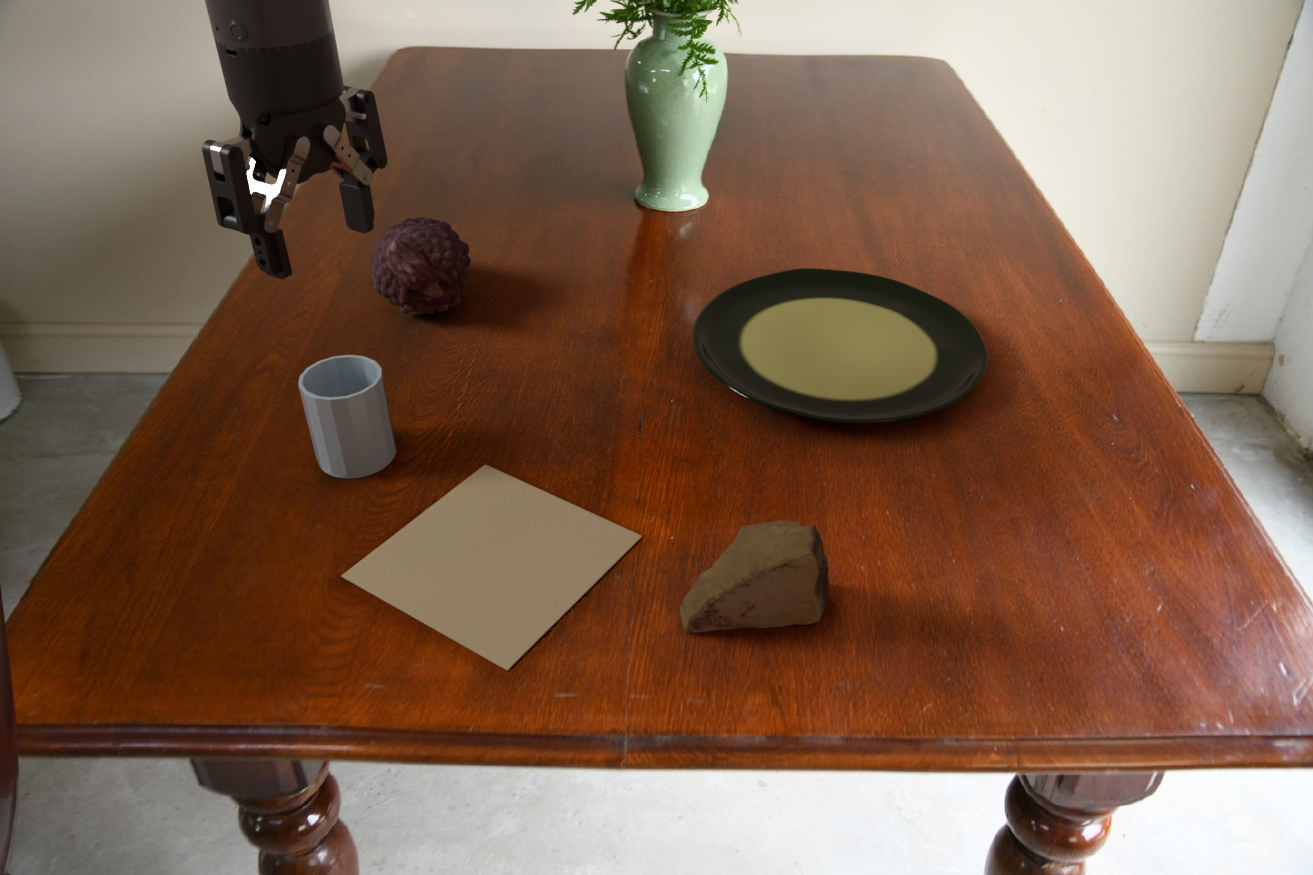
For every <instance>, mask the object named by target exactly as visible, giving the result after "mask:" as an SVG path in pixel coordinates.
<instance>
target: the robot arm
mask: <svg viewBox="0 0 1313 875" xmlns="http://www.w3.org/2000/svg"><path fill="white" fill-rule="evenodd" d="M204 3H205V7H206V10H207V16H208V19H209V24H210V27H211V32H212V36H213V39H214V43H215V48H216V52H217V56H218V60H219V64H220V68H221V73H222V76H223V80H224V84H225V88H226V92H227V96H228V100H229V101H230V103H231V105H232V106H233V107H234V109H235V111H236V112H237V114H238V116H239V122H240V124H239V131H238V136H236V137H233V138H230V139H227V140H224V141H217V140H213V139H207V140H205V141H204V142H203V143H202V146H201V152H202V156H203V161H204V167H205V171H206V175H207V180H208V185H209V190H210V194H211V198H212V203H213V208H214V212H215V217H216V222H217V224H218V226H220V227H222V228H223V229H224V228H225V229H227V230H228V229H229V230H233V231H236V232H239V233H241V234H244V235H247V236H249V239H250V243H251V247H252V251H253V254H254V258H255V262H256V266H257V267H258V270H260V271H262V272H264V273H265V274H266V275H267V276H270V277H272V278H276V279H278V280H281V281H282V280H285V279H287V278H288V277H290V276H292V275H293V270H292V266H291V260H290V256H289V252H288V248H287V244H286V240H285V235H284V232H283V229H282V228H279V225H280V222H281V219H282V216H283V212H284V208H285V205H286V204H287V203H290V202H291V201H292V199H293V197H294V194H295V192H296V188H297V185H300V184H303V183H305V182H307V181H308V180H309V179H311V177H313V176H314V175H315V174H316V175H317V174H324V173H326V172H328V171H332V172H333V173H334V174H335V175H337V177H338V178H339V179H341V180H342V181H341V182H339V183H338V189H339V193H340V198H341V203H342V204H341V205H342V208H343V214H344V219H345V225H346V226H347V228H348V229H349V230H351V231H353V232H357V233H361V234H368V233H369V232H372V231H373V230H374V228H375V224H374V221H375V216H376V215H375V214H376V212H375V208H374V202H373V195H372V189H371V183H372V182H373V179H374V173H375V172H376V171H377V170H378V169H379V170H384V169H385V168H386V167H387V165H388V162H389V161H388V154H387V150H386V145H385V140H384V135H383V129H382V124H381V120H380V116H379V111H378V106H377V101H376V97H375V93H374V92H373V91H371V90H367V89H364V88H363V89H362V88H358V87H353V86H348V85H344V84H345V83H344V79H343V73H342V68H341V67H342V66H341V60H340V55H339V51H338V44H337V40H336V33H335V28H334V24H333V23H334V22H333V17H332V12H331V6H330V0H204ZM344 126H345V130H346V135H347V139H348V141H347V140H346V139H345V138H344V137H343V136H342V133H343V130H344ZM367 145H368V147H367ZM249 157H250V161H249V162H248V160H249ZM267 174H268V175H269V176H270V177H272V178H273V179H276V180H277V181H276V182H275V183H274V184H269V183H266V177H267ZM265 199H266V201H265ZM264 201H265V202H264ZM264 203H265V205H264ZM263 206H264V208H263ZM262 208H263V211H262ZM5 619H6V618H5V611H4V602H3V595H2V587H1V585H0V875H11V874H10V873H8V872H9V869H10V865H11V862H12V861H11V860H12V857H13V852H14V845H15V839H16V838H15V837H16V829H17V821H18V811H19V802H20V801H19V800H20V768H19V767H20V765H19V762H20V761H19V740H18V723H17V722H18V720H17V713H16V704H15V703H16V702H15V693H14V685H13V676H12V666H11V665H12V664H11V658H10V650H9V643H8V635H7V627H6V621H5Z"/></svg>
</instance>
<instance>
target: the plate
mask: <svg viewBox="0 0 1313 875" xmlns="http://www.w3.org/2000/svg"><path fill="white" fill-rule="evenodd" d="M692 343H693V347H694V350H695V352H696V355H697V357H698V359H699V361H700V362H701V364H702V365H703V366H704V368H705V369H706V370H707V371H708V372H709V373H710V374H711V375H712V377H714V378H715V379H716V380H717V381H719V382H720V383H721V384H722V385H723V386H725V387H726V388H727V389H729V390H731V391H733V392H734V393H735V394H738V395H739V396H741V397H743V398H744V399H747V400H749V401H751V402H753V403H756V404H758V405H761V406H764V407H767V408H769V409H772V410H776V411H780V412H784V413H787V414H791V415H794V416H799V417H802V418H807V419H811V420H816V421H822V422H827V423H836V424H837V423H838V424H853V425H854V424H855V425H856V424H857V425H859V424H861V425H865V424H866V425H867V424H883V423H884V424H886V423H893V422H901V421H908V420H911V419H917V418H920V417H924V416H928V415H931V414H933V413H936V412H939V411H942V410H944V409H947V408H949V407H951V406H953V405H954V404H957V403H958V402H960V401H961V400H963V399H965V397H966V396H968V395H969V394H970V393H971V392H972V391H973V390H974V389H975V388H976V387H977V386H978V384H979V383H980V382H981V380H982V378H983V377H984V375H985V373H986V370H987V368H988V365H989V352H988V349H987V346H986V343H985V341H984V339H983V336H982V335H981V334H980V332H979V330H978V329H977V327H976V325H975V324H973V322H972V321H971V320H970V319H969V318H968V316H966V315H965V314H964V313H963V312H962V311H960V310H959V309H958V308H956V307H955V306H953V305H951V304H950V303H949V302H946V301H945V300H943V299H941V298H939V297H937V296H935V295H932V294H930V293H928V292H926V291H924V290H921V289H919V288H917V287H914V286H912V285H910V284H907V283H904V282H902V281H899V280H896V279H893V278H890V277H889V278H888V277H886V276H880V275H877V274H872V273H865V272H859V271H852V270H851V271H850V270H840V269H831V268H830V269H829V268H817V267H814V268H812V267H806V268H805V267H802V268H794V269H787V270H783V271H777V272H774V273H769V274H764V275H760V276H757V277H754V278H750V279H747V280H744V281H741V282H740V283H737V284H735V285H733V286H732V285H731V286H730V287H729V288H727V289H724V290H723V291H721V292H720V293H718V294H717V295H716V296H714V298H712V299H711V300H710V301H709V302H708V303H707V304H706V305H705V306H704V308H703V309H702V310H701V311H700V312H699V315H698V316H697V318H696V320H695V322H694V325H693V330H692Z"/></svg>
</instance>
